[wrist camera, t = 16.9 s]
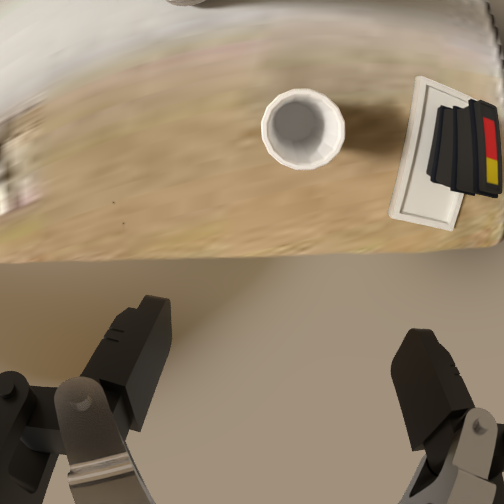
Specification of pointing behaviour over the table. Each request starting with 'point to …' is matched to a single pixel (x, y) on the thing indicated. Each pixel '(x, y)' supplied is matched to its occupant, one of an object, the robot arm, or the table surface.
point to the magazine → (467, 149)
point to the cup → (303, 129)
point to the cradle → (425, 161)
